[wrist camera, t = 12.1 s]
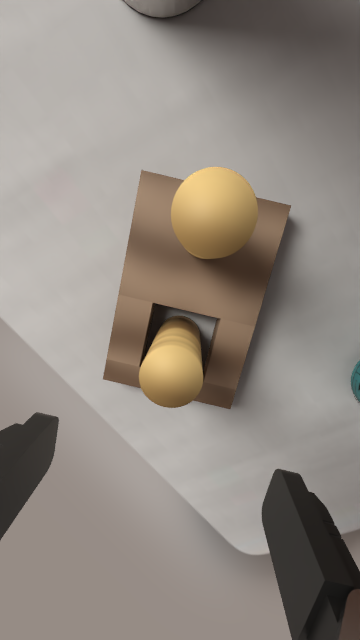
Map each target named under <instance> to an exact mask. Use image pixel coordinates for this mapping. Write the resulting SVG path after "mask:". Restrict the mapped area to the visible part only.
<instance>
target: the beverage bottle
mask: <svg viewBox="0 0 360 640" xmlns="http://www.w3.org/2000/svg"><path fill="white" fill-rule="evenodd" d="M351 387H352V390H353V394H355V396H356V398H357V400H358V401H357V402H360V361H359V362H358V363H357V364H356V366H355V368H354V370H353V373H352V376H351Z"/></svg>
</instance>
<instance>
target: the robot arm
mask: <svg viewBox="0 0 360 640" xmlns="http://www.w3.org/2000/svg"><path fill="white" fill-rule="evenodd" d="M124 1H125V2H126V3H127V4H128V5H130V6H131V7H132V8H134V9H135V10H137V11H138V12H141V13H143V14H146V15H149V16H153V17H162V18H164V17H170V16H176V15H179V14H181V13H183V12H186V11H188V10H189V9H191V8H192V7H194V6H195V5H196V4H198V3H199V2H200V1H201V0H124ZM58 422H59V419H58V417H55V416H51V415H47V414H43V413H35V414H34V415H33V416H32V417H31V418H29V419H28V420H27V421H26V422H25V423H24V424H23V425H21V424H14V425H12V426H9V427H8V428H5V429H3V430H1V431H0V540H1V538H2V537H3V535H4V534H5V532H6V531H7V530H8V528H9V527H10V525H11V524H12V522H13V521H14V519H15V518H16V516H17V515H18V513H19V512H20V510H21V509H22V507H23V506H24V505H25V503H26V502H27V500H28V499H29V497H30V496H31V494H32V493H33V491H34V490H35V488H36V487H37V486H38V484H39V483H40V481H41V480H42V478H43V477H44V475H45V474H46V472H47V471H48V469H49V467H50V465H51V462H52V459H53V456H54V451H55V443H56V437H57V430H58ZM262 523H263V527H264V531H265V535H266V539H267V543H268V547H269V550H270V554H271V558H272V562H273V566H274V570H275V574H276V578H277V582H278V586H279V590H280V594H281V598H282V602H283V606H284V610H285V613H286V617H287V621H288V625H289V629H290V633H291V637H292V640H360V571H359V569H358V567H357V565H356V564H355V562H354V560H353V558H352V556H351V554H350V552H349V550H348V548H347V546H346V544H345V542H344V540H343V539H341V535H340V533H339V531H338V529H337V527H336V526H334V521H333V519H332V518H331V516H330V514H329V512H328V510H327V508H326V507H325V505H324V504H323V503H322V502H321V501H320V500H319V499H318V497H317V496H316V495H315V494H314V493H311V492H308V490H307V487H306V485H305V483H304V481H303V479H302V477H301V476H300V474H298V473H294V472H290V471H286V470H281V469H276V470H275V472H274V474H273V476H272V479H271V482H270V485H269V488H268V490H267V493H266V496H265V499H264V502H263V506H262Z"/></svg>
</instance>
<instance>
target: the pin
mask: <svg viewBox="0 0 360 640" xmlns="http://www.w3.org/2000/svg"><path fill="white" fill-rule="evenodd" d="M139 382H140V386H141V389H142V391H143V392H144V394H145V395H146V396H147V397H148V398H149V399H150V400H151V401H152V402H154V403H155V404H157V405H160V406H163V407H168V408H176V407H181V406H184V405H186V404H188V403H190V402H191V401H193V400H194V399H195V398H196V397H197V395H198V394H199V392H200V390H201V388H202V384H203V369H202V356H201V344H200V332H199V329H198V327H197V325H196V324H195V323H194V321H192V320H191V319H189V318H187V317H185V316H173V317H170V318H168V319H167V320H166V321H164V322H163V324H162V325H161V327H160V329H159V331H158V333H157V335H156V337H155V339H154V341H153V343H152V345H151V347H150V349H149V351H148V353H147V355H146V357H145V359H144V361H143V363H142V365H141V367H140V371H139Z"/></svg>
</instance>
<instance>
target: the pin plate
mask: <svg viewBox="0 0 360 640" xmlns="http://www.w3.org/2000/svg"><path fill="white" fill-rule="evenodd" d="M290 208H291V206H290V205H286V204H282V203H278V202H273V201H269V200H265V199H261V198H257V197H256V196H255V194H254V191H253V189H252V188H251V186H250V184H249V183H248V182H247V181H246V180H245V179H244V178H243V177H242V176H241V175H239V174H238V173H236V172H235V171H232V170H230V169H227V168H222V167H209V168H205V169H201V170H199V171H197V172H195V173H193V174H192V175H190V176H189V177H188V178H187V179H186V180H181V179H177V178H172V177H168V176H164V175H160V174H156V173H151V172H147V171H143V170H141V175H140V181H139V186H138V192H137V197H136V203H135V208H134V213H133V219H132V224H131V230H130V235H129V241H128V246H127V251H126V257H125V262H124V268H123V273H122V279H121V284H120V289H119V295H118V300H117V306H116V311H115V317H114V322H113V327H112V333H111V338H110V344H109V349H108V354H107V360H106V365H105V371H104V376H103V379H104V380H109V381H113V382H117V383H121V384H126V385H130V386H134V387H138V388H141V386H140V382H139V371H140V367H141V365H142V363H143V361H144V359H145V357H144V354H145V350H146V345H147V340H148V336H149V331H150V326H151V322H152V317H153V312H154V308H155V303H157V304H161V305H165V306H169V307H174V308H178V309H182V310H186V311H190V312H195V313H199V314H203V315H207V316H212V317H216V318H217V320H216V324H215V328H214V332H213V335H212V339H211V343H210V347H209V350H208V354H207V358H206V362H205V365H204V369H203V384H202V388H201V390H200V392H199V394H198V395H197V397H196V398H195V399H194V400H193V401H198V402H202V403H206V404H210V405H215V406H219V407H223V408H227V409H231V405H232V402H233V399H234V395H235V392H236V389H237V385H238V382H239V378H240V375H241V372H242V368H243V365H244V362H245V358H246V355H247V352H248V348H249V345H250V342H251V338H252V335H253V332H254V328H255V325H256V322H257V318H258V315H259V312H260V308H261V305H262V301H263V298H264V295H265V291H266V288H267V285H268V281H269V278H270V275H271V271H272V268H273V265H274V261H275V258H276V255H277V251H278V248H279V245H280V241H281V238H282V235H283V231H284V228H285V224H286V221H287V218H288V214H289V211H290Z"/></svg>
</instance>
